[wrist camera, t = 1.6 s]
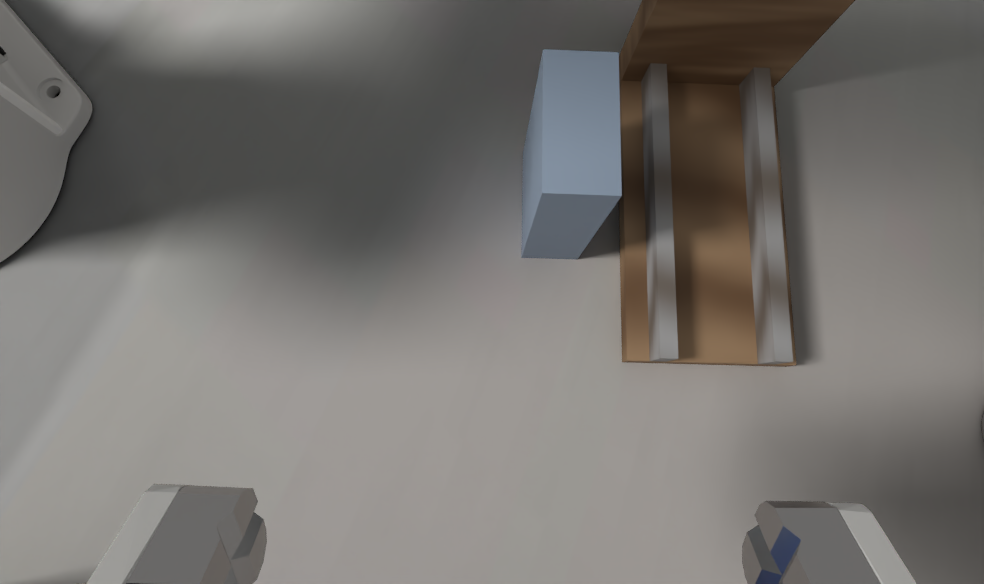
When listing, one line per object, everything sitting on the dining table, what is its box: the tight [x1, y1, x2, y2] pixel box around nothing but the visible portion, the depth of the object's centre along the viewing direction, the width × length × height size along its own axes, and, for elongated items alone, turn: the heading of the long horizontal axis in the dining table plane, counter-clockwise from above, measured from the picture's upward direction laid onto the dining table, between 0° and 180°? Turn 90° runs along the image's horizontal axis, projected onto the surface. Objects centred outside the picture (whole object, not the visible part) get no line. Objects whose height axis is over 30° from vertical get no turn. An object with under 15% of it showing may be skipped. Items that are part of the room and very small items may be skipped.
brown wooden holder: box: [619, 0, 855, 367], centre depth 30 cm, size 20×10×13 cm, turn 179°
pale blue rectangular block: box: [521, 49, 622, 259], centre depth 31 cm, size 7×4×11 cm, turn 179°
